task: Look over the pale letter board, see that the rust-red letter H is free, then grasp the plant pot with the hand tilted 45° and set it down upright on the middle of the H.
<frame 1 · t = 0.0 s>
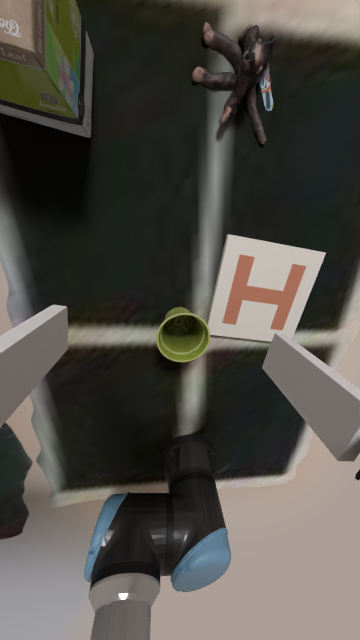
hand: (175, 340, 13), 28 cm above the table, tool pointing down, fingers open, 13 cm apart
stuffed animal: (238, 90, 31), on the table
plant pot: (179, 320, 43), on the table
letter board: (260, 294, 42), on the table
tea box: (37, 81, 28), on the table
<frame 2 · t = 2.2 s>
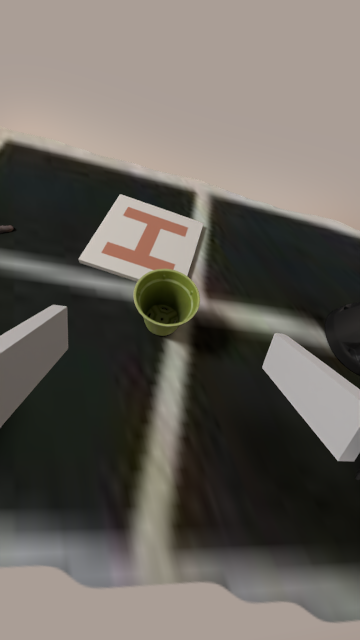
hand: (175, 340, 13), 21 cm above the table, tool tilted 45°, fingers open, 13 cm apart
plant pot: (161, 320, 36), on the table
letter board: (148, 242, 43), on the table
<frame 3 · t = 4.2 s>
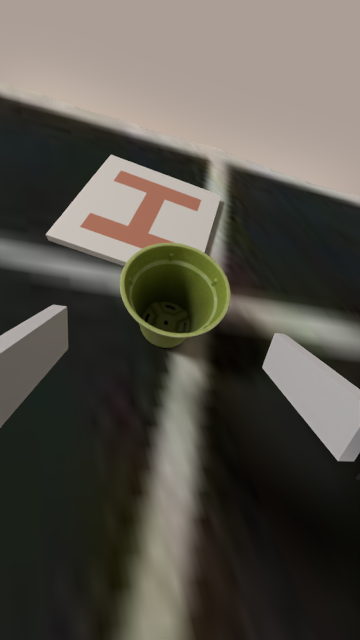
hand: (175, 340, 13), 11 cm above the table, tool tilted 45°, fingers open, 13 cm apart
plant pot: (165, 324, 25), on the table
letter board: (147, 217, 31), on the table
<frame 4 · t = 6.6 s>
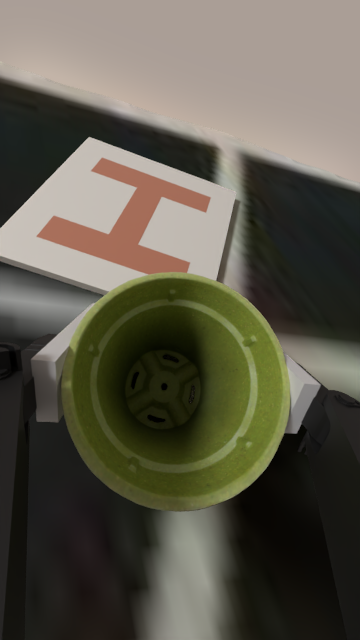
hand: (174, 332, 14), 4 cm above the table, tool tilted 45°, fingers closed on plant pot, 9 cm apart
plant pot: (163, 386, 16), on the table, touching gripper
letter board: (137, 221, 23), on the table
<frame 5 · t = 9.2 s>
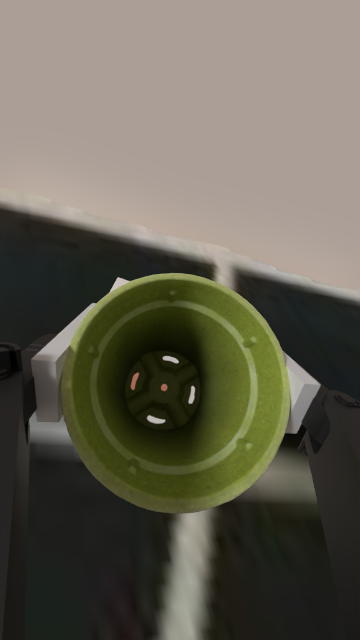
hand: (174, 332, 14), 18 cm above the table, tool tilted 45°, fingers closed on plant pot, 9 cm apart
plant pot: (163, 386, 16), point 14 cm above the table, touching gripper
letter board: (152, 352, 31), on the table
when the fingers open (6 cm above the table, at t = 11.9 s): plant pot drops 1 cm, resting on letter board.
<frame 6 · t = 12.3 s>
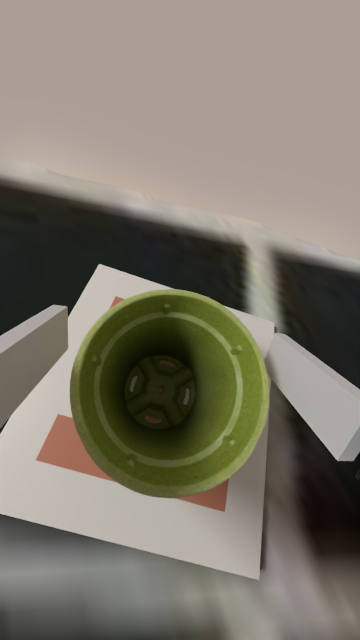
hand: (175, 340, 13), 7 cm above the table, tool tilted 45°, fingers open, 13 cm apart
plant pot: (160, 389, 17), point 1 cm above the table, touching letter board
letter board: (160, 388, 18), on the table
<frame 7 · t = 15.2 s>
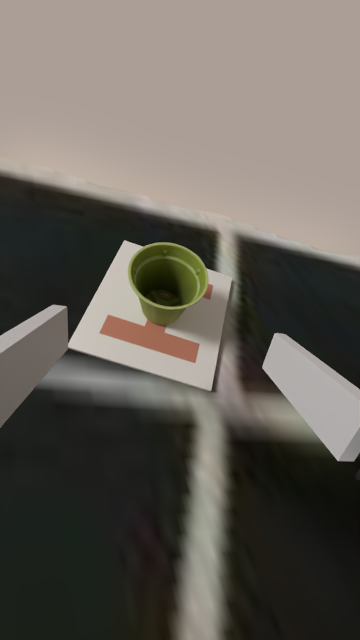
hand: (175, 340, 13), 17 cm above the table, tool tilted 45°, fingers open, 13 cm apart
plant pot: (161, 307, 31), point 1 cm above the table, touching letter board
letter board: (161, 309, 32), on the table
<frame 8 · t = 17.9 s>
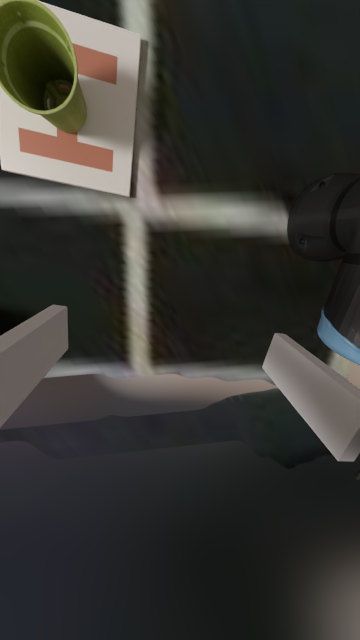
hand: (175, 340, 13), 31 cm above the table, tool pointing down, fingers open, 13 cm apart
plant pot: (66, 108, 30), point 1 cm above the table, touching letter board
letter board: (69, 110, 31), on the table
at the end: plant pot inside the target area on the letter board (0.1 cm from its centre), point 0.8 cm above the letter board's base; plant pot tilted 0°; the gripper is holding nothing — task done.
